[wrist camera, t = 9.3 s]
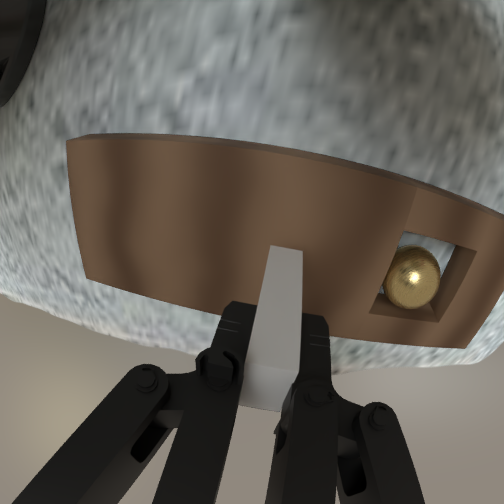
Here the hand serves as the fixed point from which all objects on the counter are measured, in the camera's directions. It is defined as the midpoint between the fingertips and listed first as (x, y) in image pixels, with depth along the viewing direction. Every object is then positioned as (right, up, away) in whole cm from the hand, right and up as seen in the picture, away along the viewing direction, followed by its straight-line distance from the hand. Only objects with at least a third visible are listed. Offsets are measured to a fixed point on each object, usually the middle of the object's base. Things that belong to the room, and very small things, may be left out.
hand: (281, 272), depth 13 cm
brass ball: (+9, -1, +2) cm, 9 cm away
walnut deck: (+2, +2, +4) cm, 5 cm away
